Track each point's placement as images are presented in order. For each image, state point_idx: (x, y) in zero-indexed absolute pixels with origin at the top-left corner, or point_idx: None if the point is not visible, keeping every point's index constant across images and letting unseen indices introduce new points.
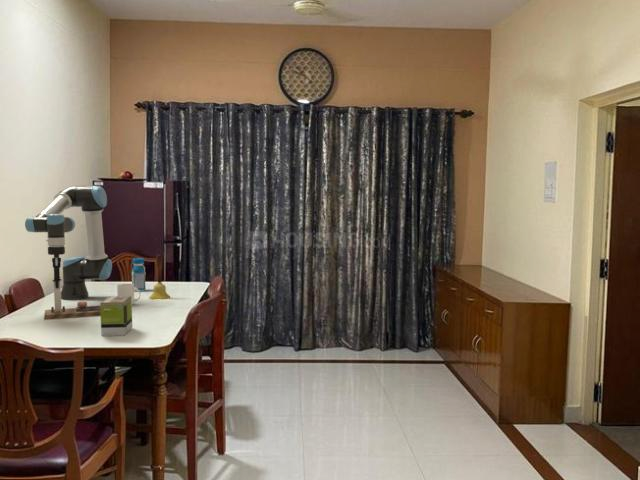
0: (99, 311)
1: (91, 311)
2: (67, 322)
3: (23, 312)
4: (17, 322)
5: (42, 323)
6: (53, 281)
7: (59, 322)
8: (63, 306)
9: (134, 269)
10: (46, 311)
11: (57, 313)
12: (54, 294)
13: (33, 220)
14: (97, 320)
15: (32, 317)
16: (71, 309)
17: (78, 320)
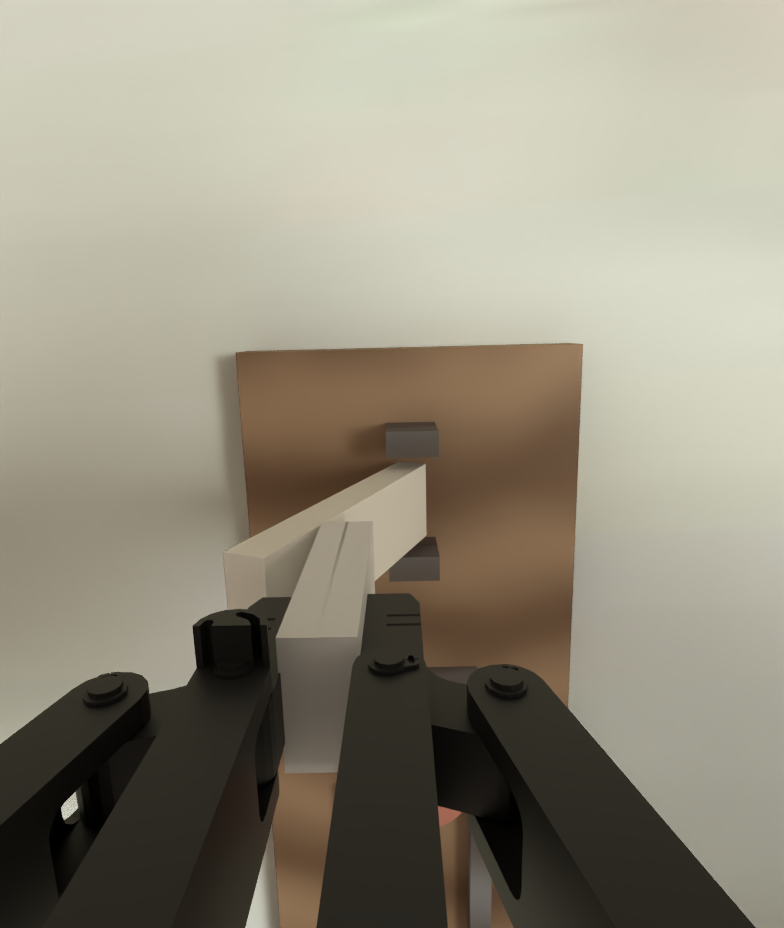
0: (287, 864)
1: (311, 799)
2: (33, 573)
3: (778, 79)
4: (153, 66)
5: (35, 344)
6: (216, 636)
7: (49, 503)
8: (416, 567)
9: None
10: (471, 365)
11: (302, 488)
12: (263, 534)
13: None
14: (67, 809)
15: (406, 215)
16: (499, 622)
17: (107, 663)
